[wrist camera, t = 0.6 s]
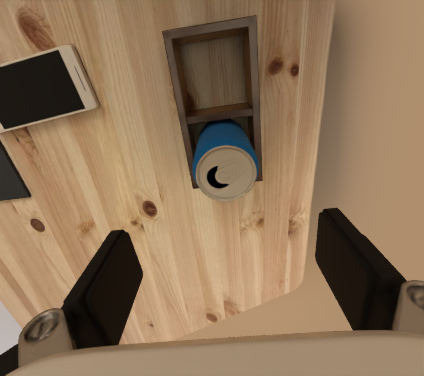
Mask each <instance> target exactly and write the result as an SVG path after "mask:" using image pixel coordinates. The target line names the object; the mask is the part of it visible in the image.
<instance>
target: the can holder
mask: <svg viewBox="0 0 424 376" xmlns="http://www.w3.org/2000/svg"><path fill="white" fill-rule="evenodd" d="M162 33H163V38H164V43H165V48H166V53H167V59H168V64H169V69H170V74H171V79H172V84H173V89H174V94H175V99H176V105H177V110H178V115H179V120H180V125H181V130H182V135H183V140H184V145H185V151H186V156H187V161H188V166H189V171H190V176H191V181H192V186H193V189H196V188H199V187H198V185H197V184H196V182H195V180H194V177H193V172H192V165H193V160H194V156H195V152H196V148H197V147H196V141H195V135H194V129H193V124H195V123H202V122H209V121H217V120H224V119H231V118H238V117H246V116H248V129H249V142H250V144H251V146H252V148H253V150H254V152H255V154H256V156H257V158H258V163H259V172H258V176H257V179H256V181H263V179H262V152H261V126H260V100H259V73H258V47H257V20H256V15H254V16H248V17H243V18H237V19H231V20H225V21H219V22H213V23H207V24H201V25H195V26H189V27H184V28H178V29H172V30H166V31H162ZM242 34H243V48H244V65H245V81H246V97H247V103H241V104H234V105H227V106H220V107H213V108H206V109H199V110H192V111H190V106H189V100H188V94H187V88H186V83H185V77H184V71H183V65H182V59H181V53H180V48H179V45H181V44H187V43H193V42H199V41H205V40H211V39H218V38H224V37H230V36H236V35H242ZM256 181H255V182H256Z"/></svg>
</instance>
